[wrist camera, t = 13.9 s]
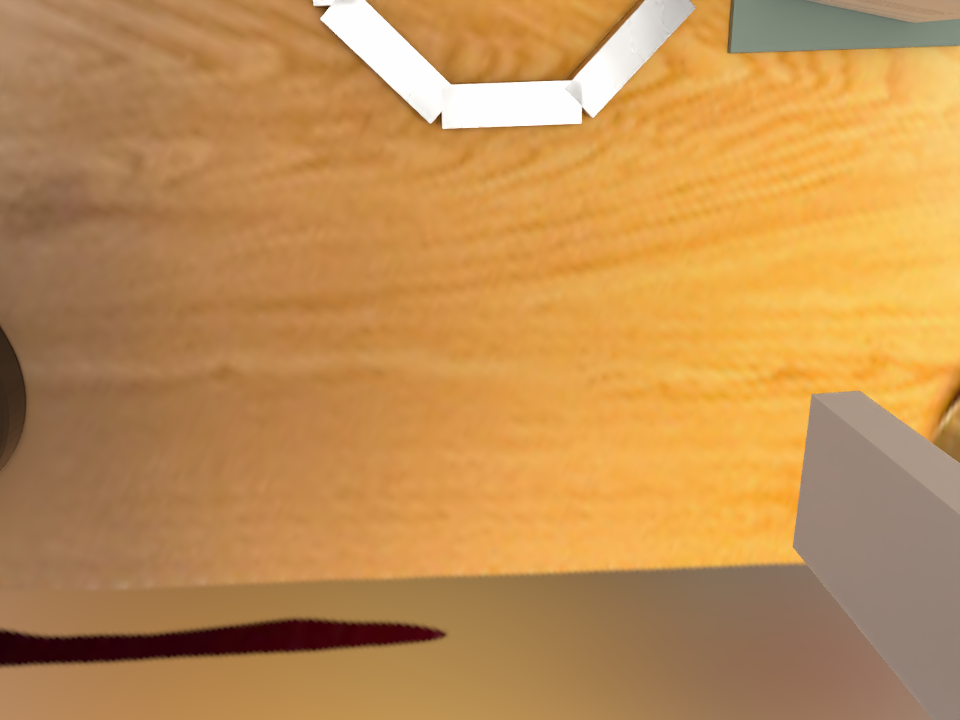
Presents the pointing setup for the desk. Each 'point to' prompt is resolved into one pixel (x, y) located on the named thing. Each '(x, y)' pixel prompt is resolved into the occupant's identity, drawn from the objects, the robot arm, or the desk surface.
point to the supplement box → (902, 8)
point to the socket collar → (506, 101)
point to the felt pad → (826, 28)
